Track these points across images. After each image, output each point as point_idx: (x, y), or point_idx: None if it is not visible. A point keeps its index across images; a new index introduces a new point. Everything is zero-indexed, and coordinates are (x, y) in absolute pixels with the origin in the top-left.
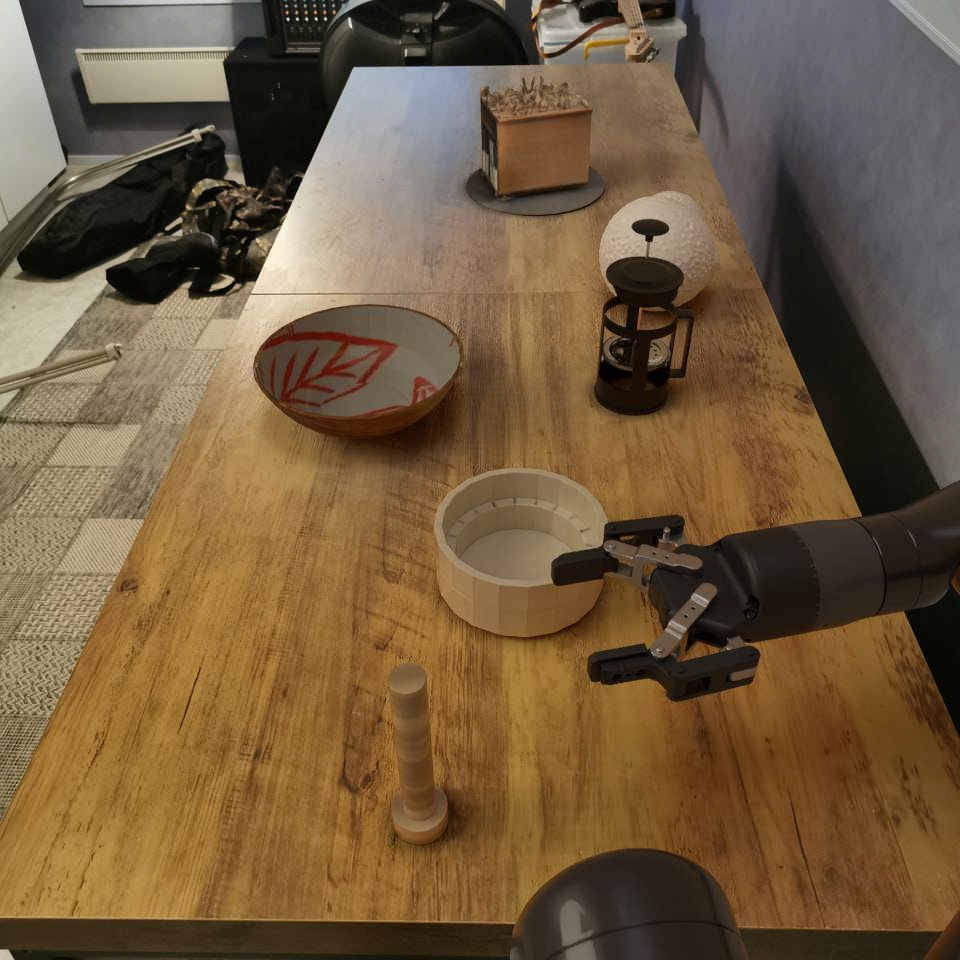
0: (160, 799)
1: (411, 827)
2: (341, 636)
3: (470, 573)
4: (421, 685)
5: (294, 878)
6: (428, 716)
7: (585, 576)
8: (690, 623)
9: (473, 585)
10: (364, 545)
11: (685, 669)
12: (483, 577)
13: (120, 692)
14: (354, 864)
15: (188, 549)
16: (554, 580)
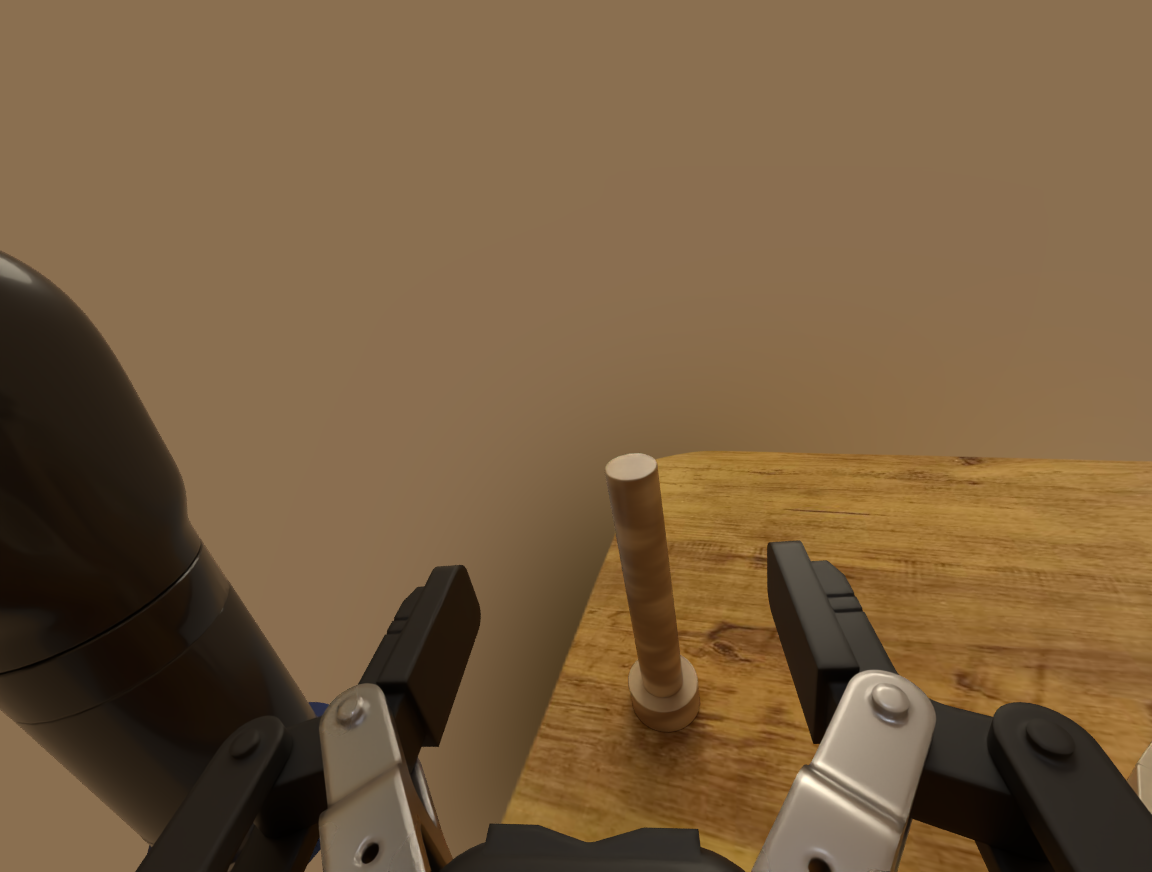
0: (716, 507)
1: (636, 667)
2: (967, 632)
3: (1145, 758)
4: (613, 476)
5: (625, 588)
6: (629, 544)
7: (793, 664)
8: (328, 857)
9: (1127, 781)
10: None
11: (232, 763)
12: (1148, 788)
13: (826, 474)
14: (626, 632)
15: (1061, 488)
16: (768, 583)
